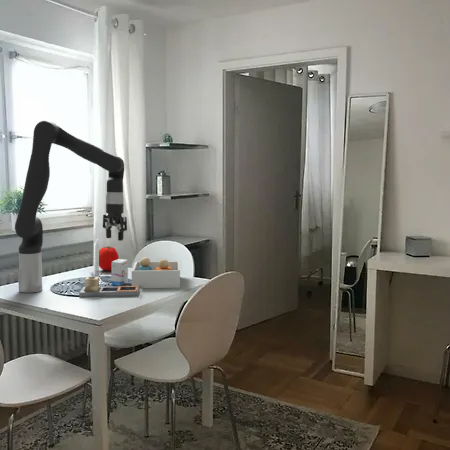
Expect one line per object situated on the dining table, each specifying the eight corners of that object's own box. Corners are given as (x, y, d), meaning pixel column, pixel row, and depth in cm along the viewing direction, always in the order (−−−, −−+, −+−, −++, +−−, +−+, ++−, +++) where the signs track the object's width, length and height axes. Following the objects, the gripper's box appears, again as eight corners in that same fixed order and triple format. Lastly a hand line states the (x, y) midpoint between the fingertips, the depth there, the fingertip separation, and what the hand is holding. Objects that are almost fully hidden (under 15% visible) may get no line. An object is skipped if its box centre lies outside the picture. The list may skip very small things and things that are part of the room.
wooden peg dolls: (181, 279, 251) (181, 254, 249) (168, 287, 234) (168, 261, 233) (147, 277, 255) (147, 253, 254) (132, 285, 239) (132, 259, 237)
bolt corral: (131, 288, 232) (131, 271, 231) (135, 277, 255) (135, 261, 254) (180, 287, 234) (180, 270, 233) (179, 276, 257) (179, 261, 256)
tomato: (121, 268, 278) (120, 244, 276) (116, 272, 265) (116, 247, 264) (99, 268, 277) (99, 244, 276) (94, 272, 265) (93, 247, 264)
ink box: (121, 287, 233) (120, 262, 232) (111, 287, 234) (110, 261, 233) (128, 283, 241) (128, 259, 240) (118, 283, 242) (118, 258, 241)
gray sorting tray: (79, 299, 212) (79, 292, 211) (83, 293, 222) (83, 286, 221) (137, 298, 214) (137, 291, 214) (139, 292, 224) (139, 285, 224)
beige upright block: (85, 295, 214) (85, 278, 213) (87, 292, 219) (87, 276, 218) (97, 295, 215) (97, 278, 214) (99, 292, 220) (98, 275, 219)
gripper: (97, 201, 223) (97, 238, 225) (117, 203, 214) (117, 242, 216) (111, 201, 229) (111, 236, 231) (131, 203, 219) (131, 240, 221)
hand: (114, 239), depth 223 cm, fingers open, 8 cm apart
